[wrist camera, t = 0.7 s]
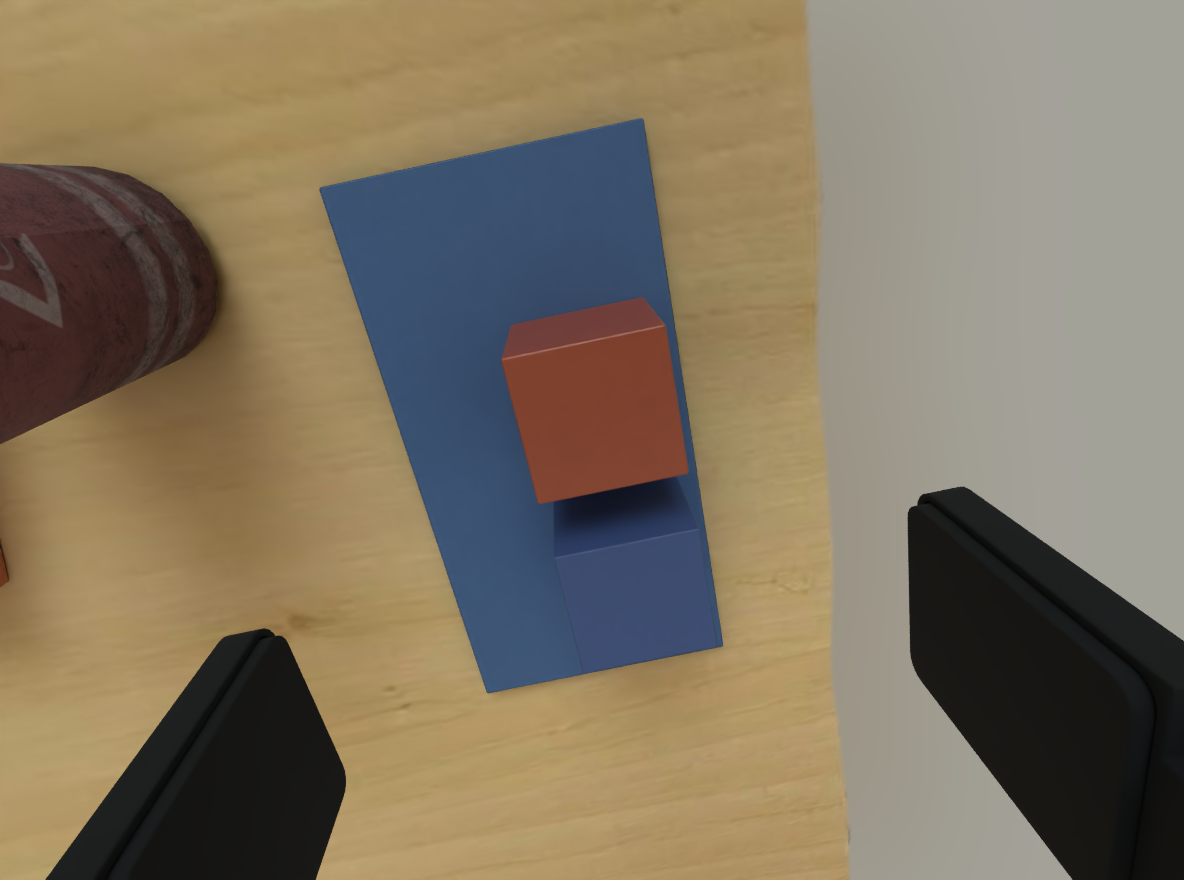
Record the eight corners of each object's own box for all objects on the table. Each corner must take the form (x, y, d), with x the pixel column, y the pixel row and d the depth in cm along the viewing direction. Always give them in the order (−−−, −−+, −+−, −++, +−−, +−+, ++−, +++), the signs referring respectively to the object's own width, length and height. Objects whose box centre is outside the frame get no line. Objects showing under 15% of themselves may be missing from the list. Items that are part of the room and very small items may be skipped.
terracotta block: (509, 324, 22) (499, 358, 17) (643, 296, 21) (666, 323, 17) (540, 447, 23) (538, 506, 19) (664, 421, 23) (689, 474, 19)
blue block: (552, 492, 24) (553, 558, 20) (673, 467, 24) (699, 528, 20) (577, 593, 26) (583, 673, 21) (690, 570, 25) (718, 646, 21)
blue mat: (323, 187, 20) (318, 187, 20) (641, 119, 20) (643, 117, 19) (488, 685, 28) (486, 694, 27) (720, 638, 27) (723, 646, 27)
